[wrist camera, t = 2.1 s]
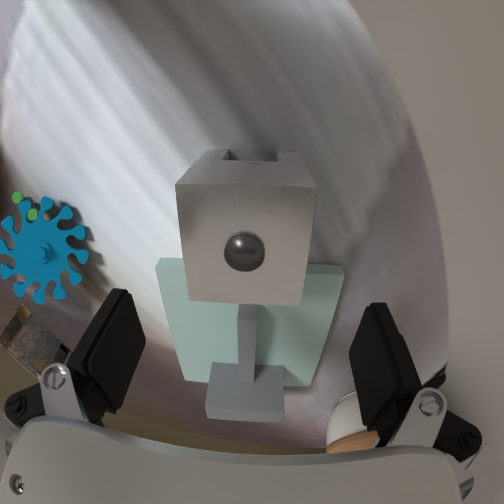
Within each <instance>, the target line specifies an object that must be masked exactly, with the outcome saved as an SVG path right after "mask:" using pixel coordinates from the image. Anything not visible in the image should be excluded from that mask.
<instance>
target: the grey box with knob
mask: <svg viewBox="0 0 504 504" xmlns="http://www.w3.org/2000/svg"><path fill="white" fill-rule="evenodd" d="M175 188H176V199H177V210H178V219H179V228H180V237H181V245H182V253H183V260H184V268H185V275H186V281H187V288H188V294H189V301H201V302H217V303H235V304H257V305H287V306H300V303H301V298H302V292H303V286H304V280H305V274H306V268H307V262H308V255H309V249H310V242H311V235H312V228H313V221H314V213H315V206H316V197H317V189H318V188H317V186H316V184H315V182H314V181H313V179H312V177H311V175H310V173H309V171H308V170H307V168H306V166H305V164H304V162H303V160H302V159H301V157H300V155H299V153H298V152H294V151H276V162H270V161H238V160H229V158H228V149H207V150H206V151H205V153H204V154H203V155H202V156H201V157H200V158H199V159H198V160H197V161H196V162H195V163H194V164H193V165H192V166H191V167H190V168H189V169H188V170H187V172H186V173H185V174H184V175H183V176H182V177H181V178H180V179H179V180H178V181H177V183H176V184H175Z"/></svg>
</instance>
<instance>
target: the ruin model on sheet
mask: <svg viewBox="0 0 504 504" xmlns="http://www.w3.org/2000/svg"><path fill="white" fill-rule="evenodd" d="M61 344H62V342H60V341H59V340H58V339H57V338H56V337H55V336H54V335H53V334H52V333H50V332H49V331H48V330H47V329H46V328H45V327H44V326H43V325H42V324H41V323H40V322H39V321H38V320H37V319H36V318H35V317H34V316H33V315H32V314H31V313H30V312H29V311H28V309H27V308H26V307H25V306H24V305H23V304H22V303H21V304H20V305H19V306H18V308H17V309H16V310H15V312H14V313H13V315H12V316H11V317H10V319H9V320H8V321H7V323H6V324H5V326H4V327H3V329H2V330H1V331H0V345H1V346H2V347H3V348H4V349H5V350H6V351H7V352H8V353H9V354H10V355H11V356H12V357H13V358H14V359H16V360H17V361H18V362H19V363H20V364H21V365H22V366H23V367H24V368H26V369H27V370H28V371H29V372H30V373H31V374H32V375H34V376H35V377H36V378H37V379H39V383H40V377H41V374H42V372H43V371H44V369H45V368H46V367H48V366H49V365H51V364H54V363H61V364H64V365H66V363H67V361H68V359H69V357H70V355H71V354H72V351H69V352H68V353H65V352H64V351H63V350H62V349H60V348H59V347H60V346H61Z"/></svg>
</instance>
